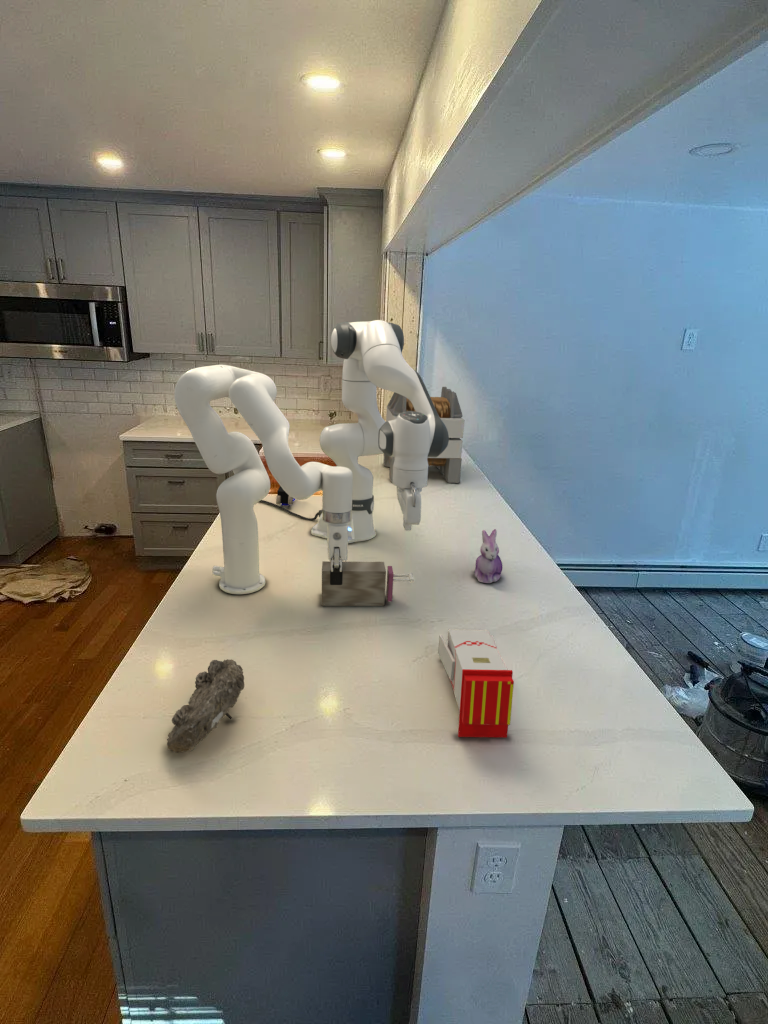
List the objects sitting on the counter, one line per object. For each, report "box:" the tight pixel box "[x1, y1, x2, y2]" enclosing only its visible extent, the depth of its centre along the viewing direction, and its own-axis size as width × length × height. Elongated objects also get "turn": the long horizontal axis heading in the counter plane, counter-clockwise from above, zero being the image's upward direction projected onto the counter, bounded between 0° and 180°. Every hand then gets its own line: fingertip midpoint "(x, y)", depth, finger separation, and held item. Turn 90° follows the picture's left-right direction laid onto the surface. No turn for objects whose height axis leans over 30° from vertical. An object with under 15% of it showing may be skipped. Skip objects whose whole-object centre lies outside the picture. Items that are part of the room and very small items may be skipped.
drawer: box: [385, 565, 415, 602], centre depth 152 cm, size 21×5×8 cm, turn 95°
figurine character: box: [275, 485, 296, 509], centre depth 223 cm, size 7×8×15 cm
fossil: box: [166, 658, 245, 754], centre depth 106 cm, size 22×10×15 cm
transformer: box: [383, 386, 465, 484], centre depth 268 cm, size 34×33×41 cm
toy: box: [437, 628, 515, 738], centre depth 117 cm, size 12×13×30 cm
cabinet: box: [321, 560, 387, 607], centre depth 152 cm, size 17×6×10 cm, turn 95°
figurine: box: [474, 528, 503, 584], centre depth 167 cm, size 9×10×15 cm
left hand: (336, 578), depth 151 cm, fingers closed on cabinet, 6 cm apart
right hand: (407, 528), depth 147 cm, fingers closed
